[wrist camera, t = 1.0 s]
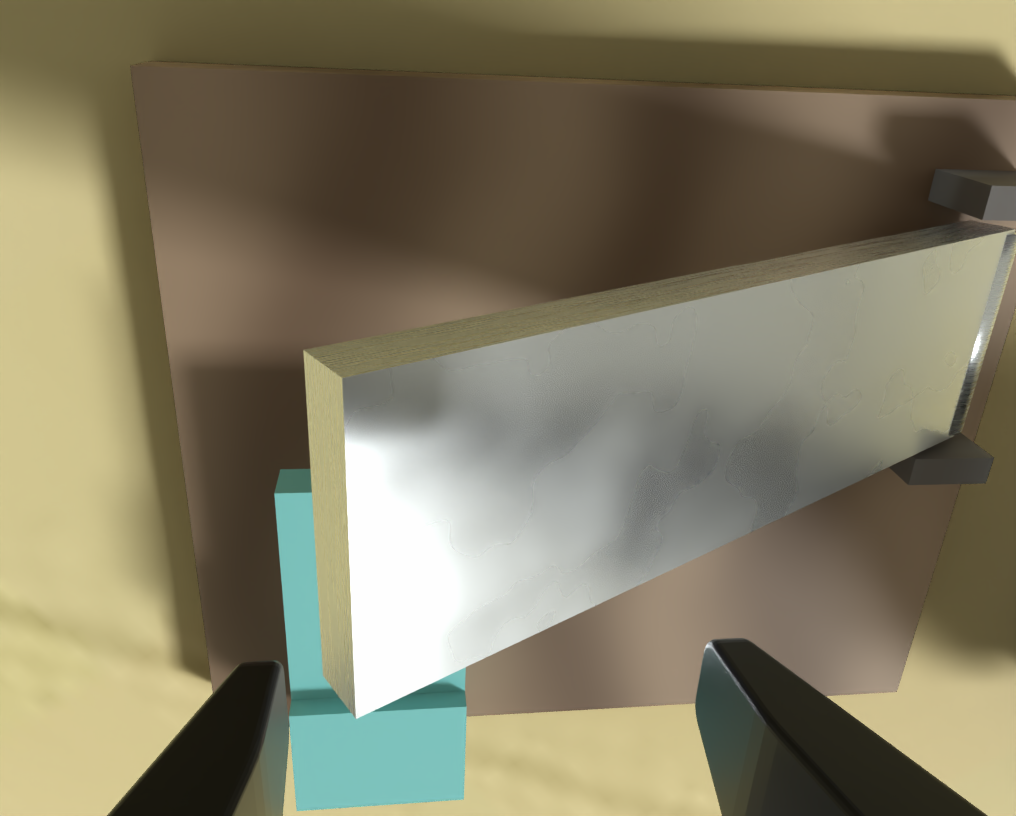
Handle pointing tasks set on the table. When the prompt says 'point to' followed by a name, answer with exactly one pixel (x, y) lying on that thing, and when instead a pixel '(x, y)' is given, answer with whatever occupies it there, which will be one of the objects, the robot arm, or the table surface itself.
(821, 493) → the white flat bar piece
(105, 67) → the table surface
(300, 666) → the block
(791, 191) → the board
